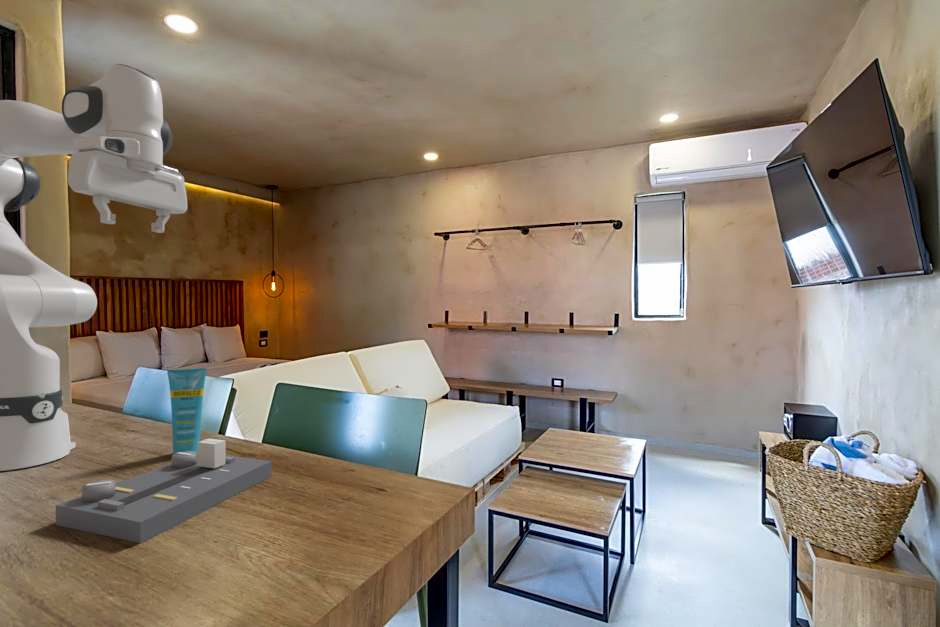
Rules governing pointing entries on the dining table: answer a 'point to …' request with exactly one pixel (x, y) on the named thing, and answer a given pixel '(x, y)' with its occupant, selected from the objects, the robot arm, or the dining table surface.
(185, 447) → the tube
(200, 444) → the fader cap
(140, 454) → the dining table surface
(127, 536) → the console
